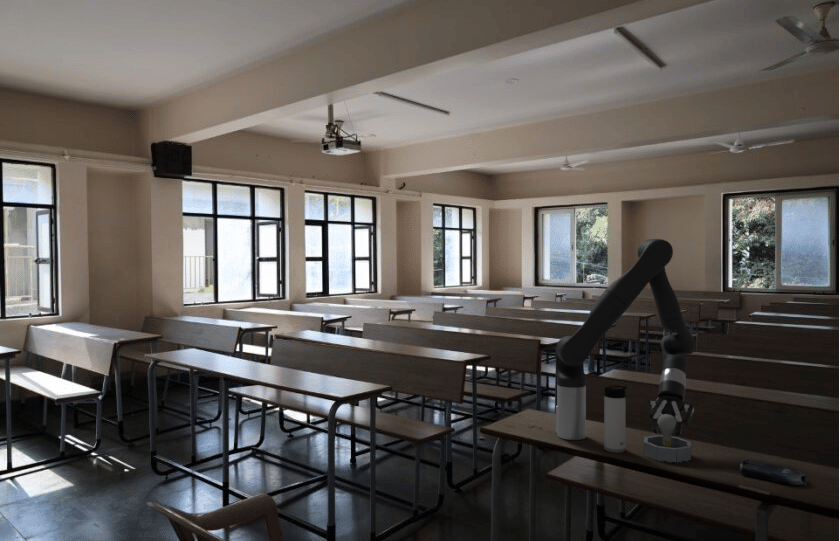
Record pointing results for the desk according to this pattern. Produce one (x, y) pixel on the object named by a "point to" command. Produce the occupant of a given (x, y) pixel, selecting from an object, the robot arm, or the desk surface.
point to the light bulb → (667, 427)
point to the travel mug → (614, 418)
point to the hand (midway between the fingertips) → (666, 433)
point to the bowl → (667, 449)
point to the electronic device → (772, 473)
